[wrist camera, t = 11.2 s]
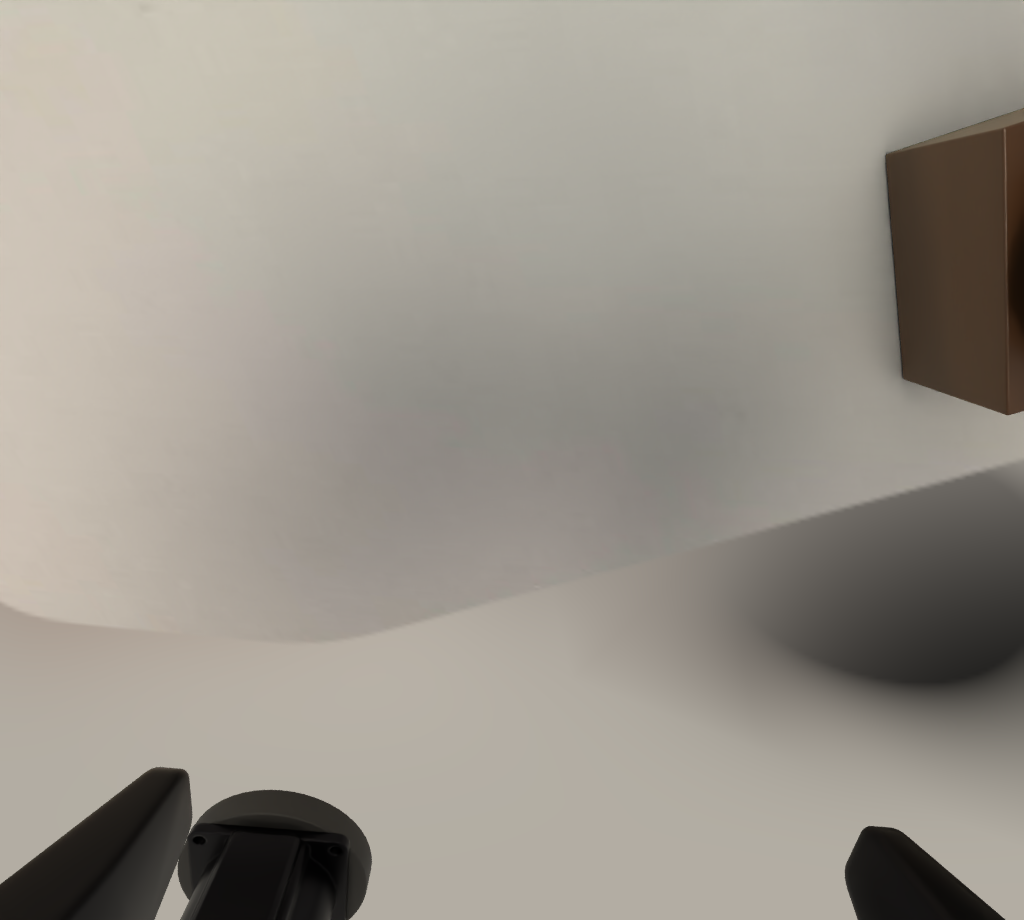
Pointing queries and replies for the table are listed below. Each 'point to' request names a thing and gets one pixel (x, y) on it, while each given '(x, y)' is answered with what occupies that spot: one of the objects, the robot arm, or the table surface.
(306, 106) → the table surface
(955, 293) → the stand
